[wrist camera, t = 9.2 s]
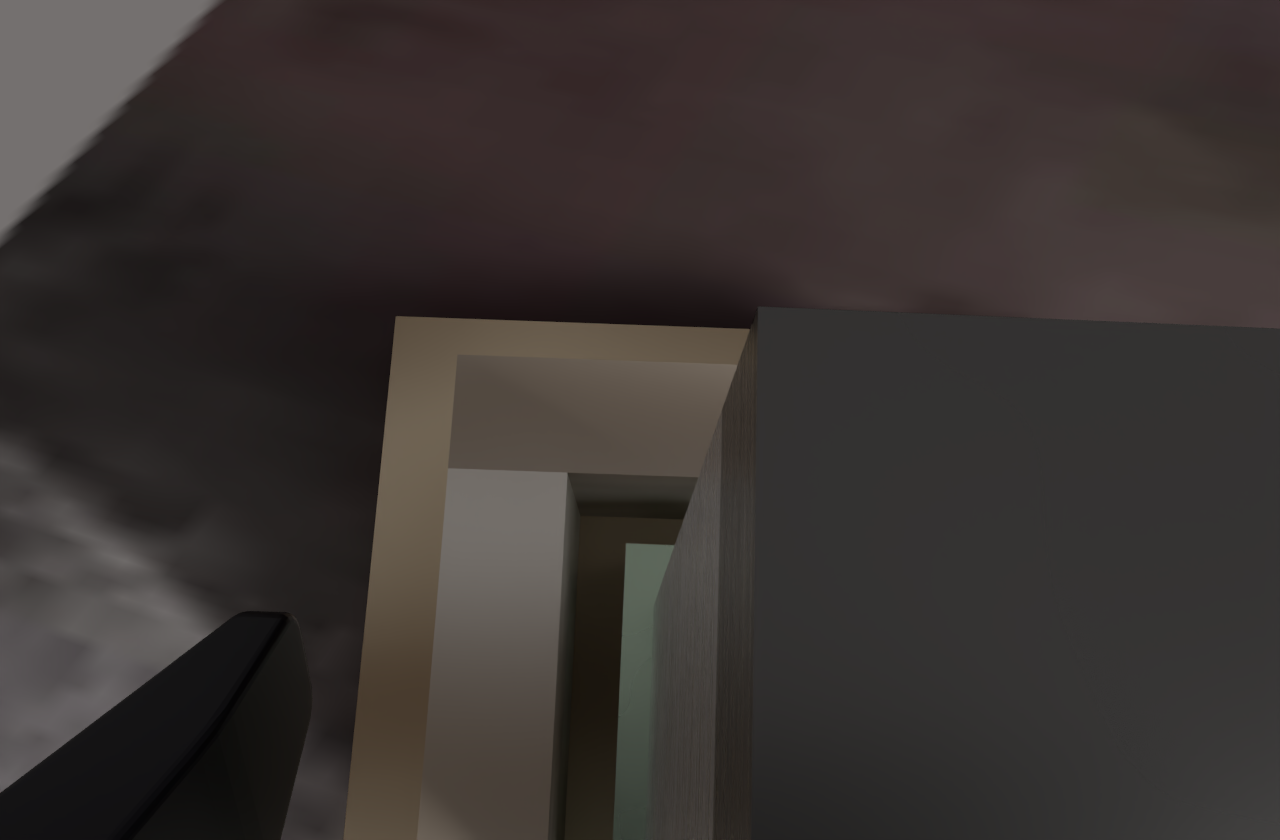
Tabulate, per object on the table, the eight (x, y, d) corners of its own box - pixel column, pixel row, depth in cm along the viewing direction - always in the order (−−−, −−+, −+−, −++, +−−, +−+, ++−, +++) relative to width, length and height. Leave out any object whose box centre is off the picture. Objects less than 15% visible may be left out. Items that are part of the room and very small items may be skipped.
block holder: (1159, 1296, 14) (1392, 1566, 10) (318, 1267, 14) (182, 1525, 10) (1085, 360, 18) (1233, 257, 13) (408, 335, 18) (336, 224, 13)
